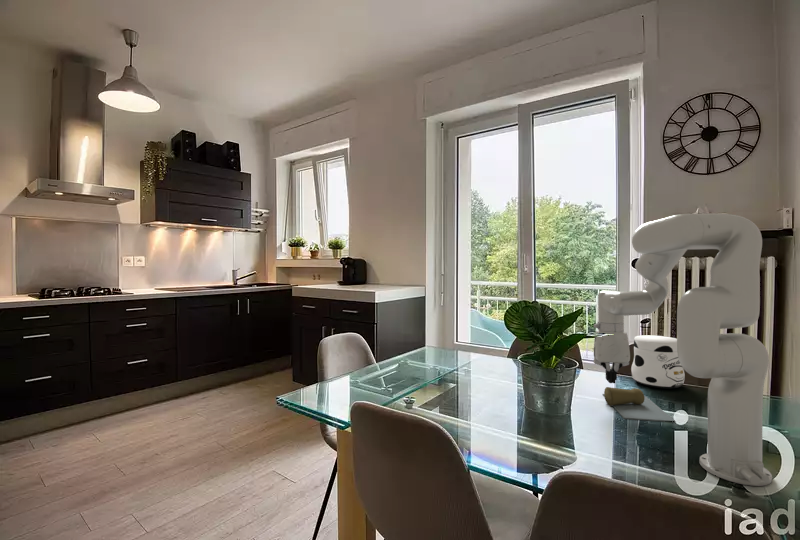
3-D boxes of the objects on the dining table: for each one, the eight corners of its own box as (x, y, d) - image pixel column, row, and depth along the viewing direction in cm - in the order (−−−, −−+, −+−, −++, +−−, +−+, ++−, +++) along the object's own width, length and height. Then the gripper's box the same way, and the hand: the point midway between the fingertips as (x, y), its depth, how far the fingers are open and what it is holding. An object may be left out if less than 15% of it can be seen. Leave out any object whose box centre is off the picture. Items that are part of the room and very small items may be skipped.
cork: (613, 407, 128) (648, 407, 127) (612, 388, 128) (646, 388, 128) (605, 403, 134) (637, 403, 133) (603, 385, 134) (636, 385, 134)
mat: (675, 422, 117) (675, 420, 117) (624, 418, 120) (624, 417, 120) (645, 397, 138) (645, 396, 138) (602, 394, 141) (602, 393, 141)
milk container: (687, 395, 140) (687, 345, 139) (631, 387, 149) (630, 340, 149) (682, 382, 155) (682, 336, 154) (631, 376, 164) (631, 333, 163)
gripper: (589, 329, 128) (590, 384, 128) (640, 329, 125) (640, 386, 125) (583, 325, 135) (584, 377, 135) (631, 326, 132) (631, 379, 132)
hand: (611, 382), depth 130 cm, fingers closed
